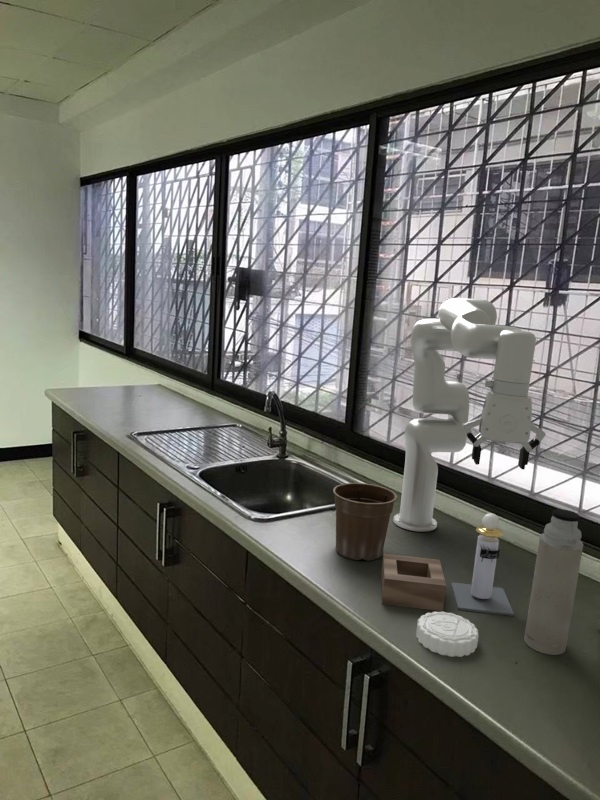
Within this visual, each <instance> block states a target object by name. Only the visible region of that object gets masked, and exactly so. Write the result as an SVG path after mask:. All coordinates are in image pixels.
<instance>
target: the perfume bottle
mask: <svg viewBox="0 0 600 800" xmlns="http://www.w3.org/2000/svg"><path fill="white" fill-rule="evenodd" d="M481 521H482V525H477V526H476V527H475V532H476V533H477V534H479V535H478V536H477V540H476V541H477V542H476V549H475V556H474V565H473V570H472V571H473V572H472V579H471V585H472V586H471V594H472V595H473V596H475V597H477V598H481V599H489V598H491V594H492V587H494V586H493V585H494V578H495V572H496V565H497V561H498V559H499V557H500V552H501V551H500V549H499V545H500V539H499V538H501V537H503V535H504V531H503V530H502V529H500V528H499V526H500V518H499V517H498V516H497V515H496V514H495V513H492V512H489V513H486V514H485V515H484V516H483V517H482V520H481Z"/></svg>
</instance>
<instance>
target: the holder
mask: <svg viewBox="0 0 600 800" xmlns="http://www.w3.org/2000/svg"><path fill="white" fill-rule="evenodd" d="M380 586H381V588H380V590H381V605H389V606H396V607H397V606H398V607H406V608H411V609H412V608H415V609H420V610H421V609H423V610H431V611H436V612H442V611H443V612H444V605H445V598H446V597H445V596H446V590H447V583H446V580H445V576H444V571H443V568H442V564H441V559H436V558H428V557H420V556H419V557H418V556H410V555H409V556H408V555H402V554H401V555H400V554H391V553H384V552H383V554H382V563H381V574H380Z"/></svg>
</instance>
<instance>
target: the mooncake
mask: <svg viewBox="0 0 600 800" xmlns="http://www.w3.org/2000/svg"><path fill="white" fill-rule="evenodd" d="M415 635H416V636H415V637H416V639H417V640H418V641H417V642H418V643H419V644H421V645H422V646H423V647H424V648H426V649H429V650H430V652H433V653H437V654H439V655H440V656H447V657H451V658H452V657H453V658H454V657H460V658H462V657H464V656H471V654H473V653H474V652H475V651H476V649H478V642H479V630H478V629H477V627H476V625H475V624H474V623H472V622H471V621H470V620H469V619H468V618H464V617H463V616H461V615H457V614H455V613H453V612H445V611H444V610H443V611H432V612H427V613H425V614H422V615H421V616H420V617H419V618H418V619H417V623H416V634H415Z"/></svg>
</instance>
